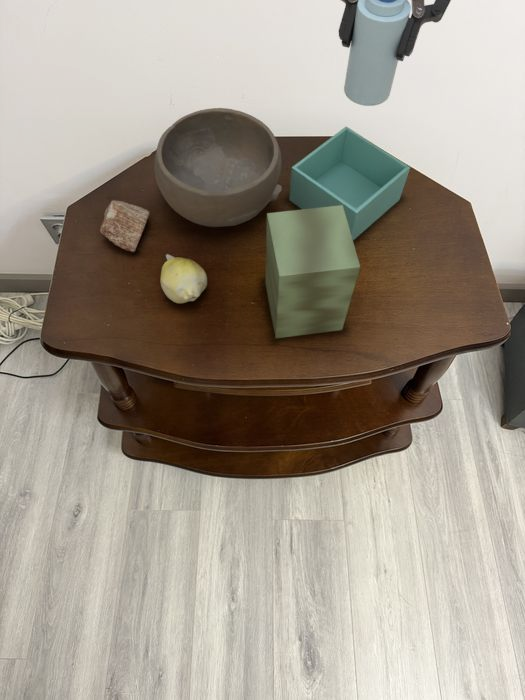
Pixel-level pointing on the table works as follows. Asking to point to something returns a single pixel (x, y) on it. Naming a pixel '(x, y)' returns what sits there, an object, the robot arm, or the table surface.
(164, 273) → the fruit
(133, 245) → the stone
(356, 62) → the bottle
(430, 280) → the table surface
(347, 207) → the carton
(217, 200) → the bowl
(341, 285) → the stand
